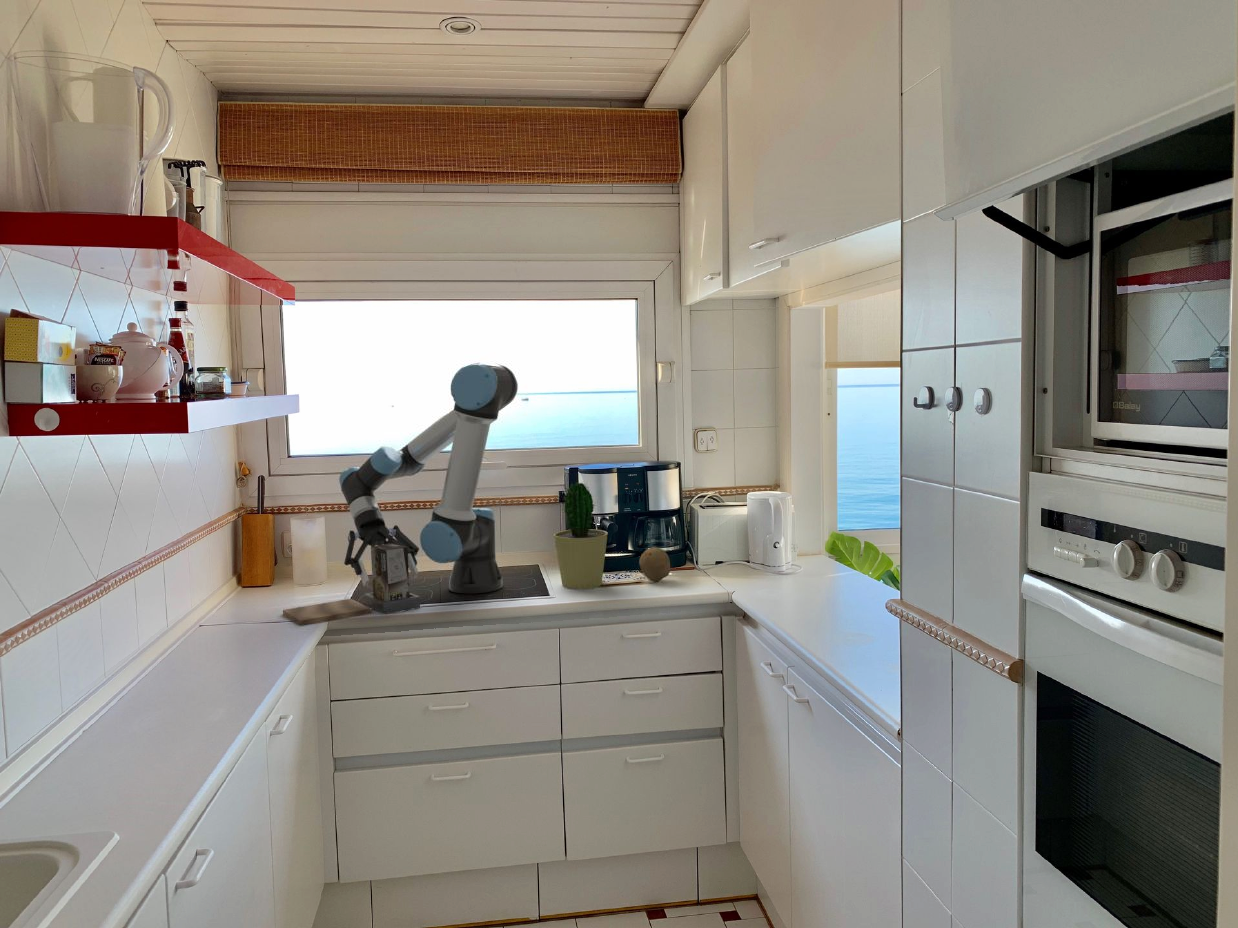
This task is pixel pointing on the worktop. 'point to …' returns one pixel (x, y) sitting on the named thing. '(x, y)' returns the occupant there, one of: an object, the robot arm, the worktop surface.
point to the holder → (391, 603)
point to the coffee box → (390, 571)
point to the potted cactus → (580, 542)
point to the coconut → (655, 564)
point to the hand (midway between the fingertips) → (391, 579)
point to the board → (326, 611)
